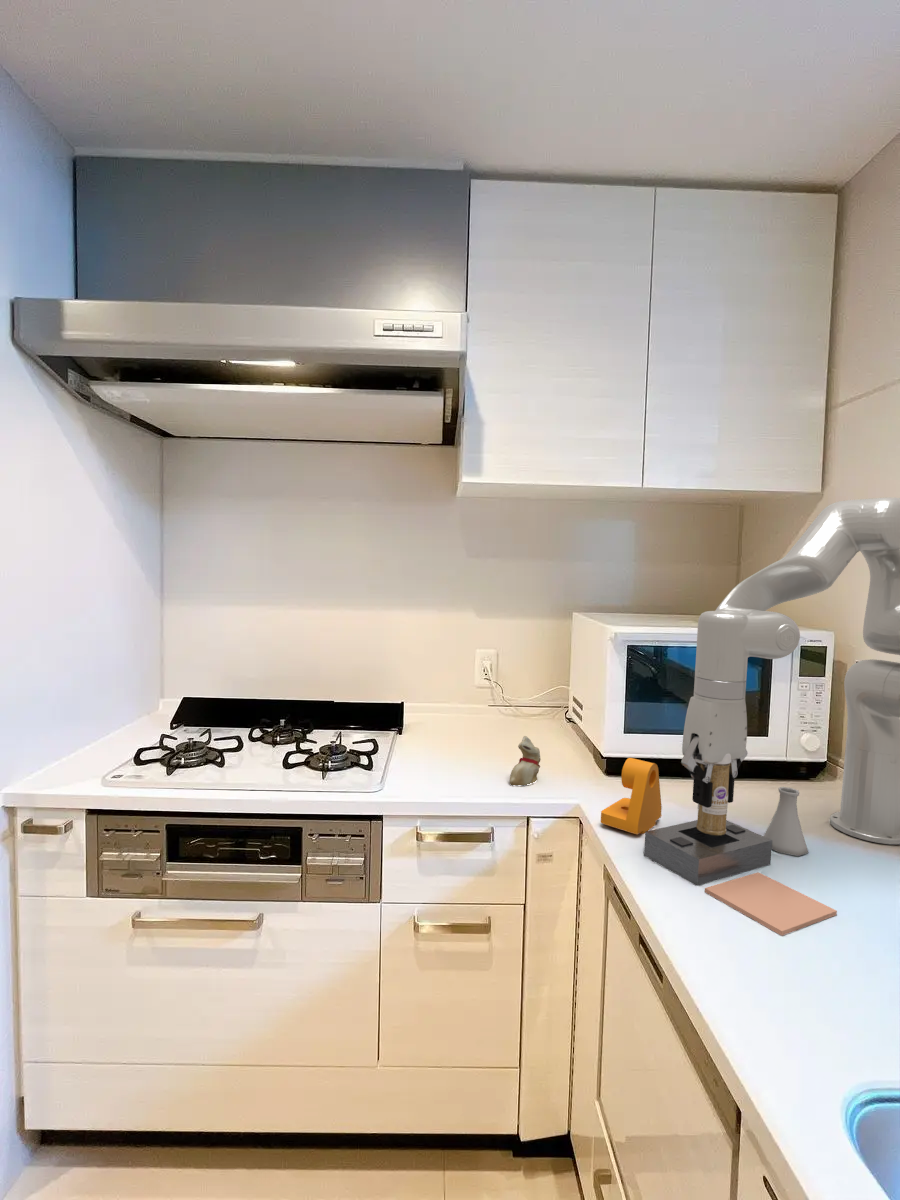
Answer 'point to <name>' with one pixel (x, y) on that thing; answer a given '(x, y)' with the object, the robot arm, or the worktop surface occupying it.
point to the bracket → (636, 799)
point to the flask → (787, 825)
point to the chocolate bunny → (526, 764)
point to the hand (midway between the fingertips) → (712, 800)
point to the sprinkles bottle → (716, 800)
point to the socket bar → (707, 851)
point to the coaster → (770, 903)
